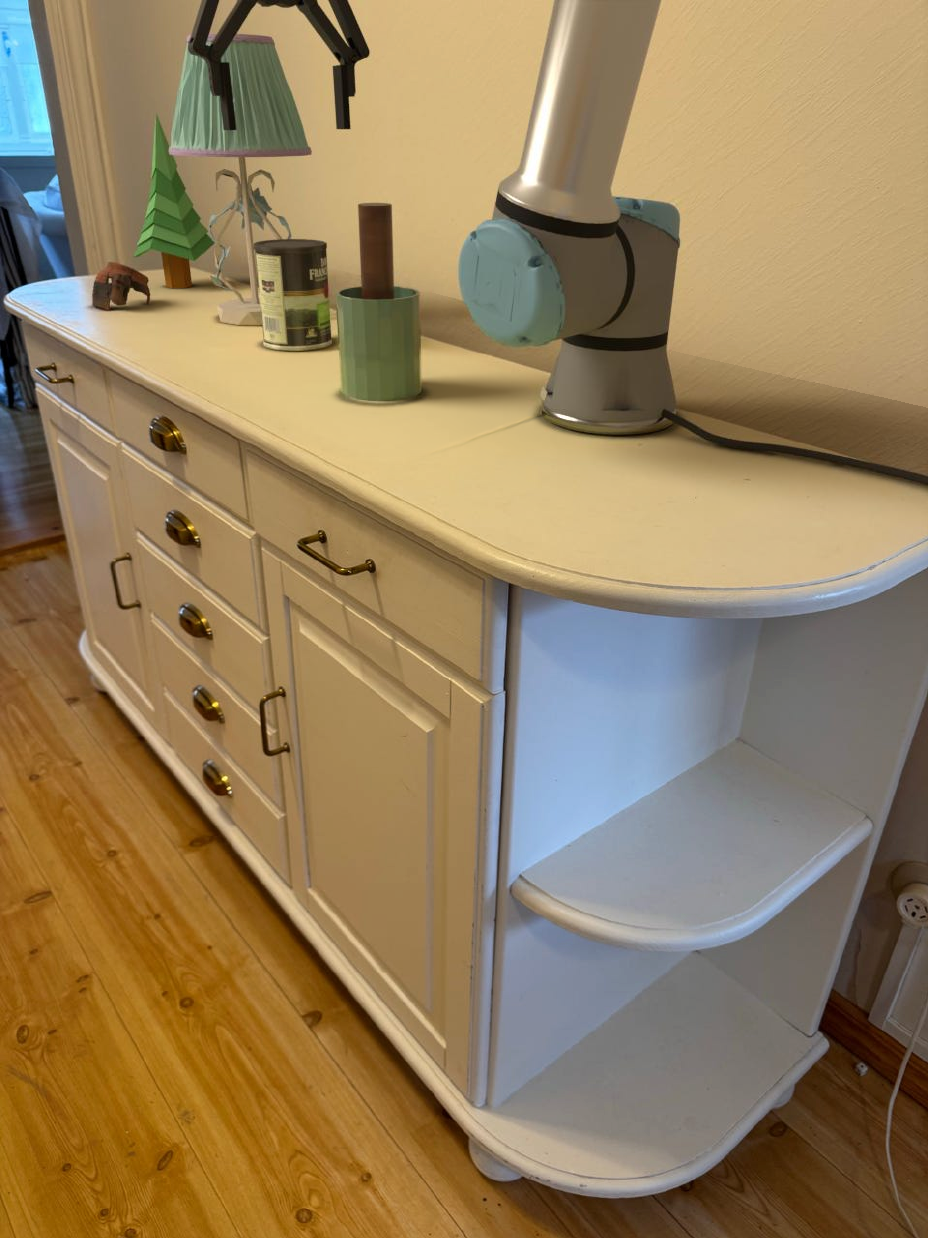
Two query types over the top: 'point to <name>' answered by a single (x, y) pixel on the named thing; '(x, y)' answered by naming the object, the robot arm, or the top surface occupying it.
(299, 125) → the table lamp
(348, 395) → the tin
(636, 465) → the top surface
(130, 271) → the brown arched piece
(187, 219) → the decorative tree
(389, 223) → the stick
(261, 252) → the coffee can
